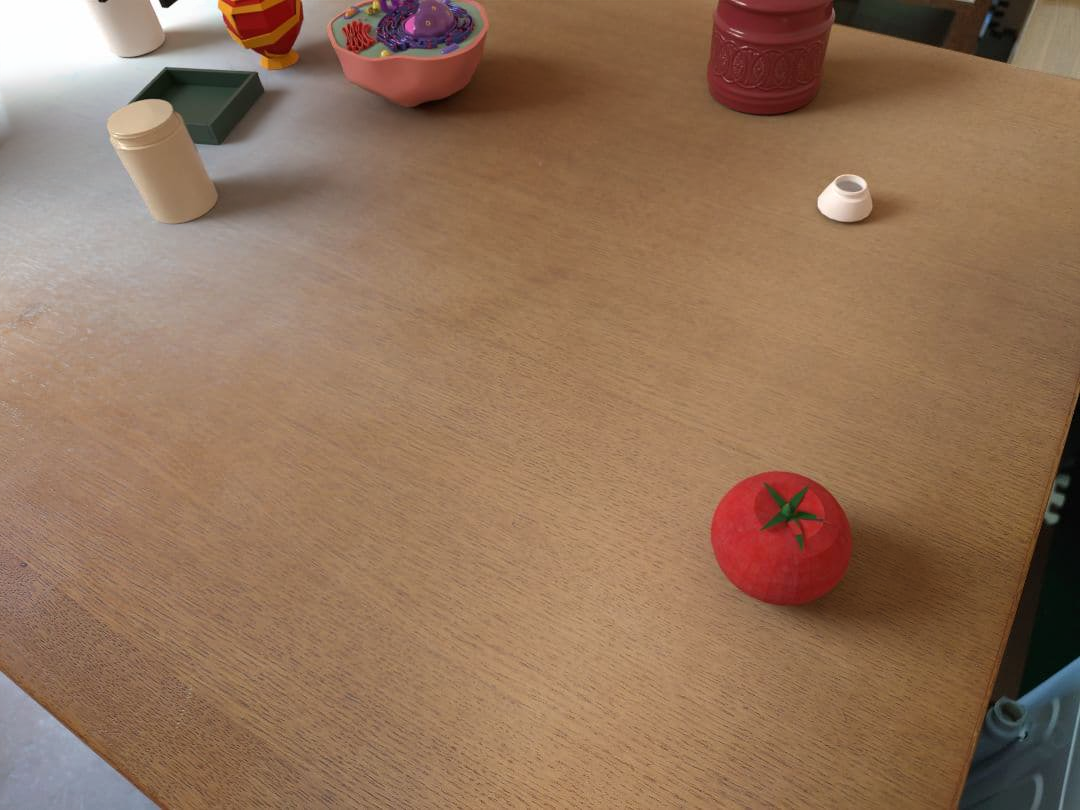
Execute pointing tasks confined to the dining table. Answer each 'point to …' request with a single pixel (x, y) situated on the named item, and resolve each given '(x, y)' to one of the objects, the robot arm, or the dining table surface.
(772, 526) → the tomato
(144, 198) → the jam jar
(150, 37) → the milk bottle
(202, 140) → the lid tray
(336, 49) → the cell model
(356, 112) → the dining table surface
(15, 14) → the dining table surface
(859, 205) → the lidless jar
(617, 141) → the dining table surface
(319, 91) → the dining table surface
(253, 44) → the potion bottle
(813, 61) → the kitchen canister
